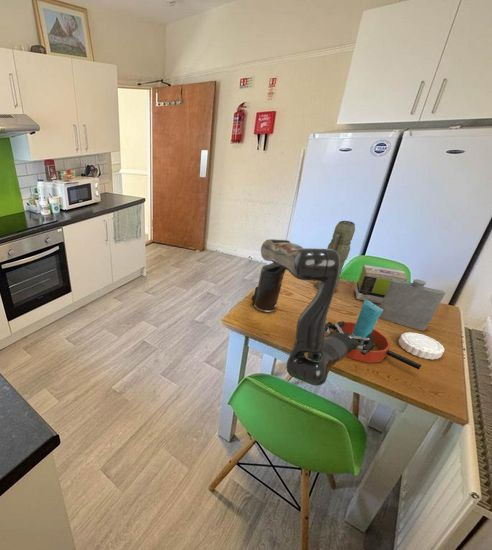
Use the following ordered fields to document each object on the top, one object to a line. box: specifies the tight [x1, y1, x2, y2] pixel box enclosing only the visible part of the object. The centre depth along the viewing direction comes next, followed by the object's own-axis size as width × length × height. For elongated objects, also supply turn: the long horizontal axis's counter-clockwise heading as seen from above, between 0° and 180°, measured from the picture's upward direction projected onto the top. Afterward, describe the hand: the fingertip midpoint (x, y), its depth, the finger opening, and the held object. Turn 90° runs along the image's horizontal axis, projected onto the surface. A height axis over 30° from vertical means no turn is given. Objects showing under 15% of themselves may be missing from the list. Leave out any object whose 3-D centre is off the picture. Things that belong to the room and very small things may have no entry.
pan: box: [330, 321, 422, 370], centre depth 108 cm, size 26×17×5 cm, turn 34°
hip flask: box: [379, 278, 446, 331], centre depth 120 cm, size 16×4×20 cm, turn 45°
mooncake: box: [398, 331, 445, 360], centre depth 110 cm, size 12×12×4 cm
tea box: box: [354, 264, 409, 305], centre depth 138 cm, size 15×10×15 cm, turn 59°
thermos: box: [315, 220, 356, 293], centre depth 143 cm, size 9×12×35 cm
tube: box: [351, 299, 383, 342], centre depth 108 cm, size 7×5×19 cm, turn 12°
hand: (356, 329), depth 104 cm, fingers open, 8 cm apart
